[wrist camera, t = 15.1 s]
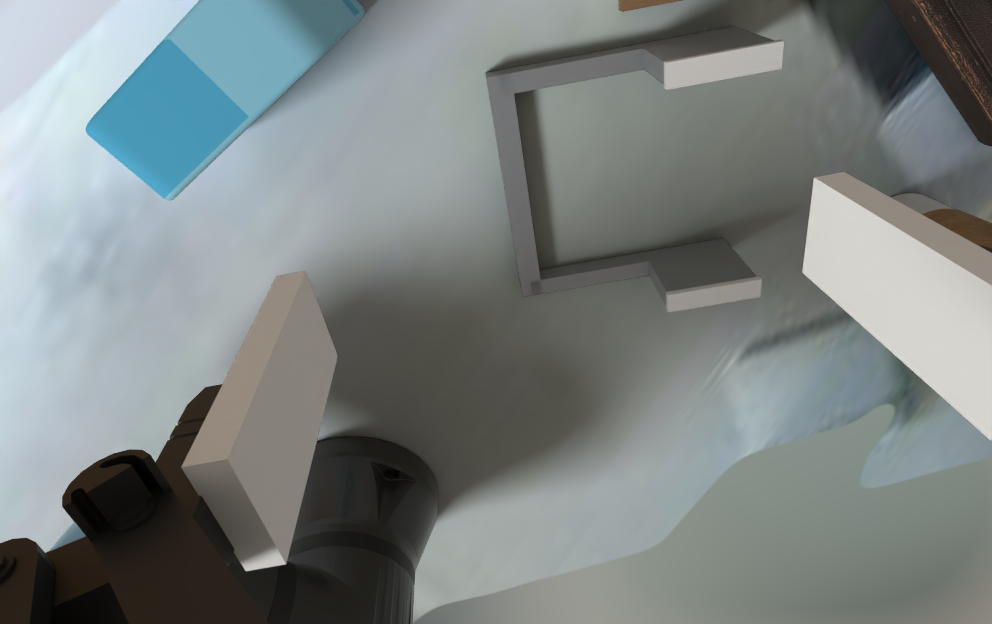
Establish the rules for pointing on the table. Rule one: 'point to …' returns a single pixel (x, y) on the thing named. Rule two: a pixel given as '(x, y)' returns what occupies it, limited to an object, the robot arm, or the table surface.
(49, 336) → the table surface
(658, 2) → the walnut mat
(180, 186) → the data package
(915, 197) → the coffee cup
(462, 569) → the table surface
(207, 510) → the robot arm
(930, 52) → the hardcover book
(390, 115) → the table surface
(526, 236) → the grey u-shaped frame
